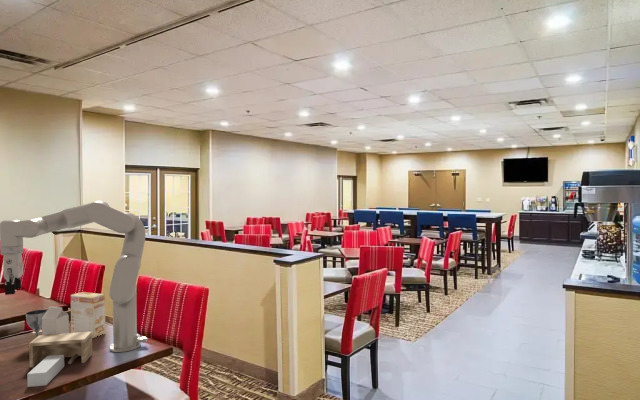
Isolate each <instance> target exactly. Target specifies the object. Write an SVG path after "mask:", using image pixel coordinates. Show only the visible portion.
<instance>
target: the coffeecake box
mask: <svg viewBox="0 0 640 400" xmlns="http://www.w3.org/2000/svg"><path fill="white" fill-rule="evenodd" d="M105 296H106V295H105V294H104V293H96V292H86V291H81V292H78V293H72V294H70V324H71V325H70V326H71V327H70V328H71V329H70V330H71V332H70V333H78V332H92V339H94V338H95V339H96V338H98V337H100V335H101V336H103V335H106V308H105V307H106V305H105V304H106V301H105V300H106V299H105V298H106V297H105ZM102 334H103V335H102ZM97 336H98V337H97Z"/></svg>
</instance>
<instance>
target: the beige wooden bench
mask: <svg viewBox="0 0 640 400" xmlns="http://www.w3.org/2000/svg"><path fill="white" fill-rule="evenodd" d="M28 346H29V347H28V348H29V349H28V350H29V352H28V355H29V358H28V359H29V368H35V367H36V366H37V365H38V364H39V363H40V362H41V361H42V360H43V359H45V358H46V357H47V356H54V355H64V358H70V359H69V360H68V361H67V364H68V365H72V364H73V362H74V361H75V360H76V359H77V358H78V357H81V364H86V362H87V361H88V360H89V359H90V357H91V356H92V355H93V338H92V332H78V333H71V332H69V333H64V334H49V335H42V334H39V336H38V337H37V338H36V337H35V338H34V339H32V341H30V342H29V343H28Z"/></svg>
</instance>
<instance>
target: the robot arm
mask: <svg viewBox="0 0 640 400" xmlns="http://www.w3.org/2000/svg"><path fill="white" fill-rule="evenodd" d="M93 223H94V224H95V223H96V224H97V225H99V226H102V227H103V228H106V229H107V230H111V231H113V232H114V233H115V232H116V233H118V234H124V240H123V243H122V249H121V253H120V256H119V258H118V259H117V261H116V262H115V265H114V269H113V273H112V276H111V277H112V278H111V281H110V287H109V297H110V299H111V300H112V329H113V330H112V331H113V334H112V335H113V339H112V342H113V343H111V344H110V345H109V351H111V352H114V353H126V352H131V351H134V350H136V349H138V348H139V347H140V346H141V345H142V343H147V342H148V338H147V337H146V336H140V334H139V333H138V329H137V325H138V323H137V322H138V321H137V320H138V319H137V318H138V317H137V314H138V313H137V290H138V289H137V280H138V276H139V270H140V269H141V265H142V257H143V253H144V247H145V243H146V236H147V235H146V228H145V226H144V223H143V221H142V220H141V219H140V217H138V216H137V215H136V214H133V213H131V212H128V211H126V212H122V211H120V210H117V209H115V208H113V207H111V206H110V205H109V203H107V202H106V201H104V200H96V201H92V202H89V203H85V204H84V203H83V204H81V205H76V206H72V207H68V208H65V209H63V210H62V211H61V210H60V211H58V212H55V213H51V214H47V215H44V216H39V217H36V218H35V217H34V218H30V219H24V220H20V219H6V220H2V221H0V255H1V256H3V258H2V261H3V262H2V263H3V265H2V267H3V269H2V270H3V279H4V294H5V296H7V295H8V296H9V295H15V294H16V290H19V289H20V290H21V288H22V281H21V277H22V276H23V275H24V263H23V255H22V254H24V238H27V239H29V238H30V239H31V238H33V239H34V238H36V237H39V236H42V235H46V234H49V233H53V232H57V231H60V230H65V229H75V228H78V227H81V226H85V225H89V224H93Z"/></svg>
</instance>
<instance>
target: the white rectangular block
mask: <svg viewBox="0 0 640 400" xmlns="http://www.w3.org/2000/svg"><path fill="white" fill-rule="evenodd" d="M64 367H65V357H64V355H54V356H47V357H46V358H45V359H42V360H41V361H39V362H38V363H37V364H36V365H35V366H34V367H32V369H31V370H30V371H29V372H27V377H26V378H27V381H26V382H27V388H30V387H42V386H47V385H48V384H49V383H50V382H51V381H52V380H53V379H54V378H55V377H56V376H57V375H58V374H59V373H60V372H61V370H63V369H64Z"/></svg>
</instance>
